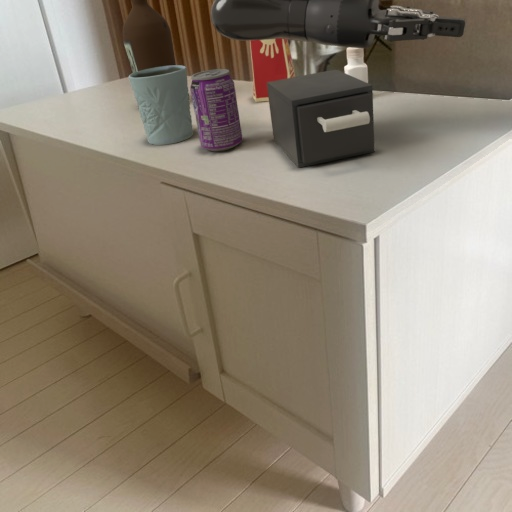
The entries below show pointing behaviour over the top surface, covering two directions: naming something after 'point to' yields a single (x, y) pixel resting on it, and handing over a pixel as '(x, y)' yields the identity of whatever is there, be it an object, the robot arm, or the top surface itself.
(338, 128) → the drawer
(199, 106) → the beverage can
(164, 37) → the olive oil
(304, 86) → the cabinet
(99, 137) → the top surface
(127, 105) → the top surface
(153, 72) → the embossed ceramic cup
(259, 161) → the top surface
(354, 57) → the pepper shaker
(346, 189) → the top surface
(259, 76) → the milk carton
